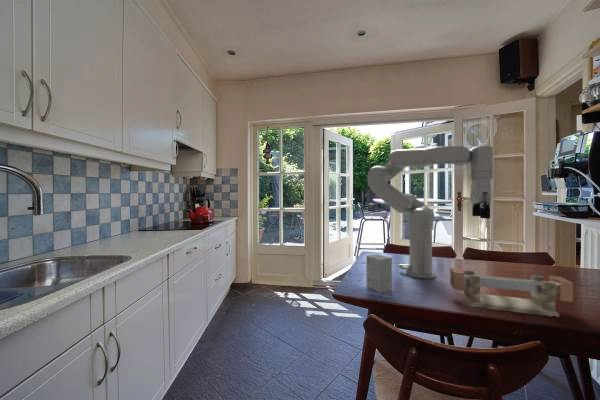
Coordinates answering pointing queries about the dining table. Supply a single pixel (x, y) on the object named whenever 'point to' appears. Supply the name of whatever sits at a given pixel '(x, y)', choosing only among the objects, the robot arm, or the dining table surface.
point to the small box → (379, 273)
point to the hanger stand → (512, 298)
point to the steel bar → (514, 284)
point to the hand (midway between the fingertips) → (480, 217)
